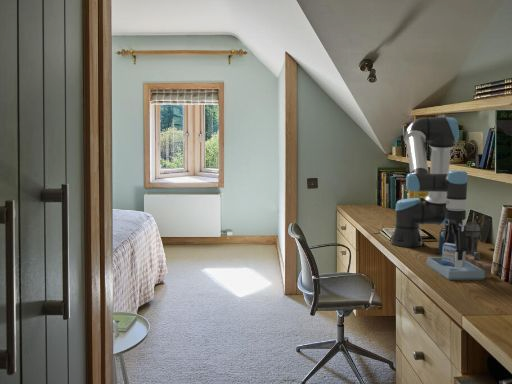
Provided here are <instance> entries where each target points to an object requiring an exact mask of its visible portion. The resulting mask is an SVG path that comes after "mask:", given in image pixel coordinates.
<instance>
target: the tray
mask: <svg viewBox="0 0 512 384" xmlns="http://www.w3.org/2000/svg"><path fill="white" fill-rule="evenodd" d="M426 266H427V267H429V268H430V269H431V270H433V271H434V272H436V273H437V274H438V275H440V276H442V277H443V278H445V279H446V281H478V280H479V281H484V280H485V278H484V275H485V271H484V270H482V269H480V268H479V267H477V266H475V265H473V264H471V263H469V262H468V261H466V260H465V266H464V267H462V268H455V267H452V266H446V265H442V256H437V257H434V256H431V257H429V256H428V257H426Z"/></svg>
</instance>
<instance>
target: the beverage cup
mask: <svg viewBox="0 0 512 384" xmlns="http://www.w3.org/2000/svg"><path fill="white" fill-rule="evenodd" d="M474 219H475V212H474V211H473V213H472V219H471V220H472V221H468V222H467V223H465V224H464V226H466V232H465V233H466V255H472V256H474V252H478V244H479V237H480V234H481V227H480V225H479V224H478V223H477V222H475V221H474Z"/></svg>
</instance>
